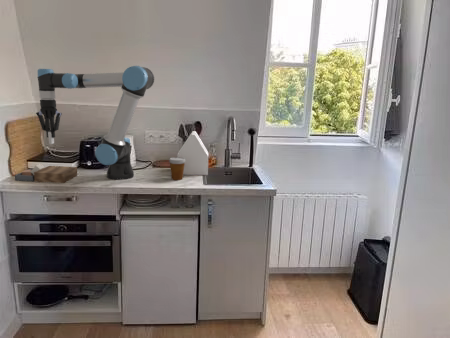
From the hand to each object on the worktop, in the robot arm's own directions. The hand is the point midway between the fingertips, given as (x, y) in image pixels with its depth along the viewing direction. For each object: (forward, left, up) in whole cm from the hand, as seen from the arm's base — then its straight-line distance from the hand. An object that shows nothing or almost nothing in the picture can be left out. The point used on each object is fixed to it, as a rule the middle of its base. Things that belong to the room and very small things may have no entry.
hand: (51, 143), depth 190 cm
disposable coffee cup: (-67, -12, -20) cm, 70 cm away
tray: (+12, 0, -20) cm, 23 cm away
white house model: (-74, -31, -20) cm, 82 cm away
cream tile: (+8, 0, -16) cm, 18 cm away
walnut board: (-2, 0, -20) cm, 20 cm away
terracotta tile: (+14, 0, -16) cm, 21 cm away
